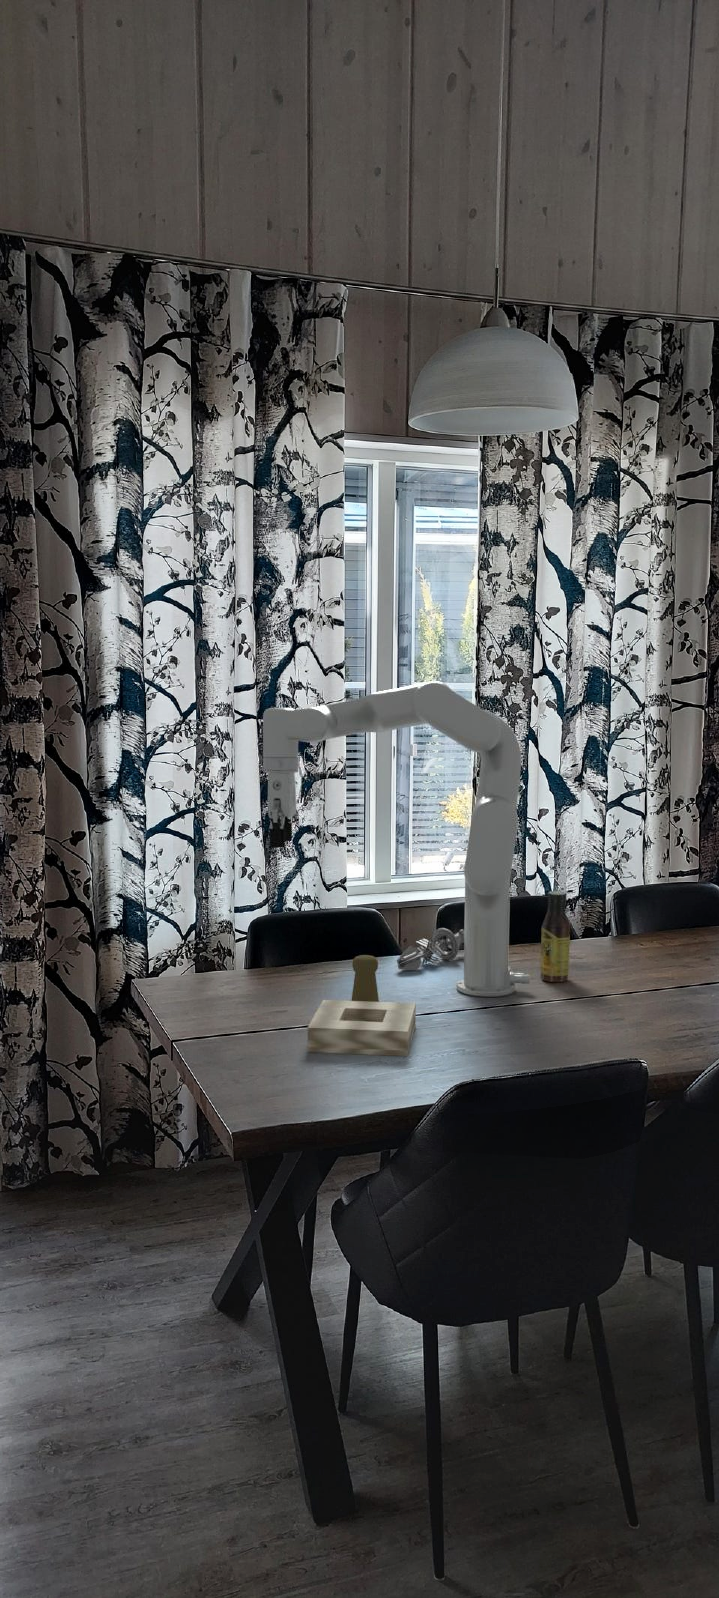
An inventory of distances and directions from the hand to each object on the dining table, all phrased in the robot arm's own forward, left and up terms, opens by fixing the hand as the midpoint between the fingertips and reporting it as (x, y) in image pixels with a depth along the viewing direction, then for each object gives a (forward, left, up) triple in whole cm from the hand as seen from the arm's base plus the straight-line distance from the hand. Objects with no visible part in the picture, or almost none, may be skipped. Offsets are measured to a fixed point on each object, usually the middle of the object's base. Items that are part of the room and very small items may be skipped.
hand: (281, 843), depth 252 cm
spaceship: (-35, -25, -31) cm, 53 cm away
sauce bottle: (-60, -10, -31) cm, 68 cm away
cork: (-21, +18, -31) cm, 41 cm away
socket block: (-23, +37, -31) cm, 53 cm away
